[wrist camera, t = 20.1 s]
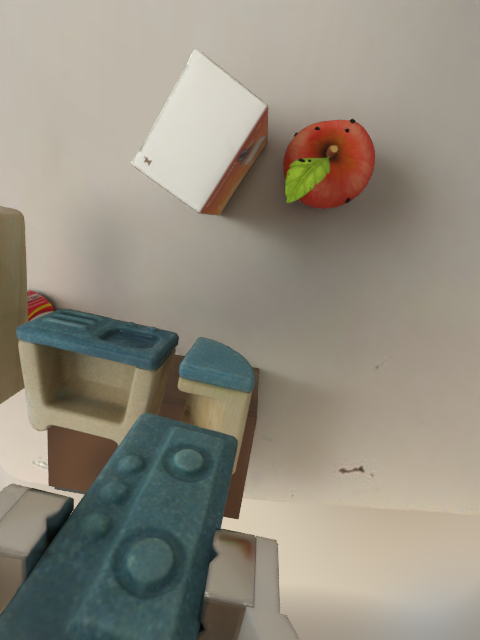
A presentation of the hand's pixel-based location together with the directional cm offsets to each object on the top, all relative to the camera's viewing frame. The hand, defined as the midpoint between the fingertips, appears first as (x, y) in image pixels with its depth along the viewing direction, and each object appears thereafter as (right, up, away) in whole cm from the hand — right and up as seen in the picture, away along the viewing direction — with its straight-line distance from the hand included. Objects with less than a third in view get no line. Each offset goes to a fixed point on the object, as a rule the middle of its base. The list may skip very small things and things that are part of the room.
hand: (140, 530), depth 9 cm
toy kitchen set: (-7, -2, +6) cm, 10 cm away
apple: (+9, +18, +23) cm, 31 cm away
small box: (+1, +20, +24) cm, 31 cm away
